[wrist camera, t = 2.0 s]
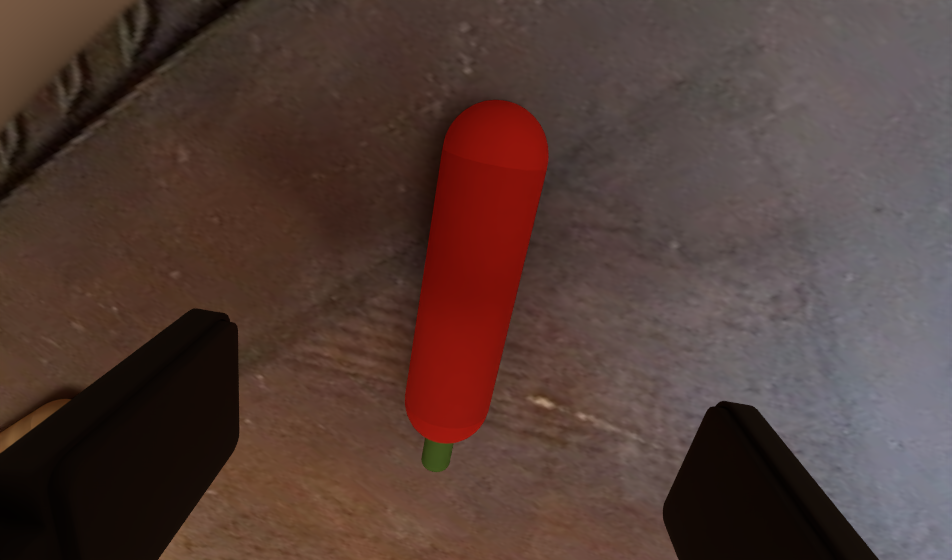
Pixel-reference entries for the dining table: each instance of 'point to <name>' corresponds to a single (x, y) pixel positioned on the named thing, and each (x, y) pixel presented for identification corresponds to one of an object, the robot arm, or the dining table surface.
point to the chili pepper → (472, 270)
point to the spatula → (29, 423)
